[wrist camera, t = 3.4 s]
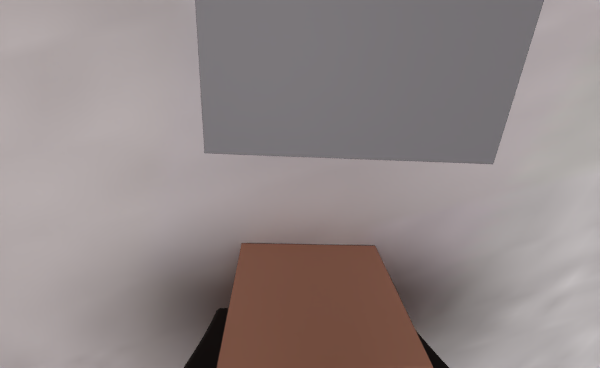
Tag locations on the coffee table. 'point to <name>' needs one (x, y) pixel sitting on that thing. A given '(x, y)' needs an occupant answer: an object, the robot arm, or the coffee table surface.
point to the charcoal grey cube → (361, 76)
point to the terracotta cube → (317, 311)
